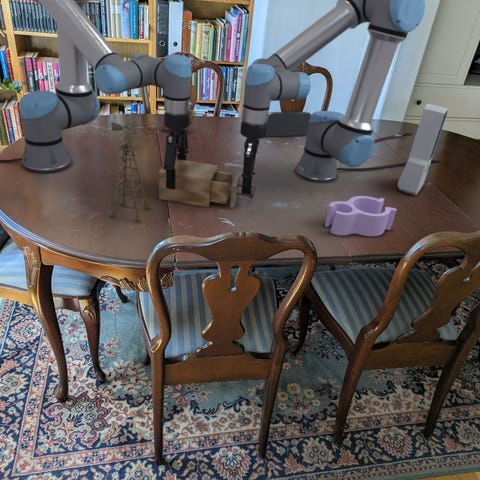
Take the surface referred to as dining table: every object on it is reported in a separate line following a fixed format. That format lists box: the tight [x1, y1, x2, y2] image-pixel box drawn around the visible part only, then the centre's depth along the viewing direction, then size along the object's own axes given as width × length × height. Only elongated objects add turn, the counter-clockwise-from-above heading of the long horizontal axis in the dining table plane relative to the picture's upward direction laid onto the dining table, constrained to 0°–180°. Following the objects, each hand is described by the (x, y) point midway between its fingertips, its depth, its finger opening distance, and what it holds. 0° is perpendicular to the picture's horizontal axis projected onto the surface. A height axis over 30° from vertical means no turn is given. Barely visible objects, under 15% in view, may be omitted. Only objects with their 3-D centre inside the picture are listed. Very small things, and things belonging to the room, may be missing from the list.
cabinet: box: [158, 158, 219, 208], centre depth 147 cm, size 16×11×9 cm
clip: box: [324, 195, 398, 237], centre depth 141 cm, size 20×12×7 cm, turn 109°
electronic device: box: [396, 103, 449, 196], centre depth 162 cm, size 12×8×30 cm, turn 148°
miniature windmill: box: [110, 111, 149, 222], centre depth 129 cm, size 9×8×30 cm
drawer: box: [210, 170, 257, 209], centre depth 146 cm, size 20×10×8 cm, turn 80°
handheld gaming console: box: [265, 111, 312, 137], centre depth 202 cm, size 23×3×10 cm, turn 108°
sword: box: [374, 132, 414, 143], centre depth 214 cm, size 31×3×1 cm, turn 126°
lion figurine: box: [161, 109, 197, 134], centre depth 194 cm, size 15×5×9 cm, turn 110°
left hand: (176, 180), depth 148 cm, fingers closed on cabinet, 11 cm apart
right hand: (245, 194), depth 146 cm, fingers closed
